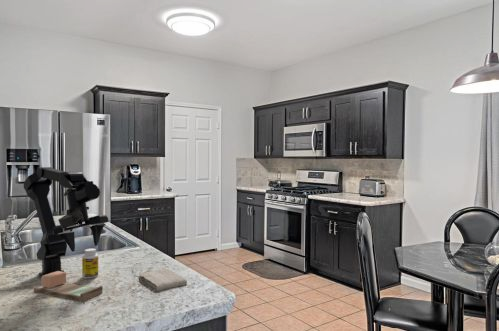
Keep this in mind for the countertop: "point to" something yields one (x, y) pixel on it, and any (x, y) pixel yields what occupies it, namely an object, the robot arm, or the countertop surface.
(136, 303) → the countertop surface
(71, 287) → the switch base
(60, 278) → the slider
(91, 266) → the supplement bottle
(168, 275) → the washcloth
